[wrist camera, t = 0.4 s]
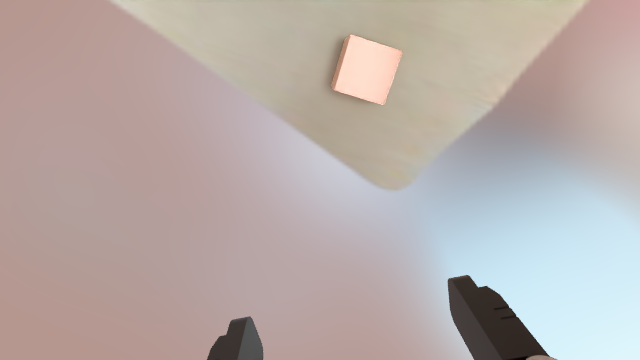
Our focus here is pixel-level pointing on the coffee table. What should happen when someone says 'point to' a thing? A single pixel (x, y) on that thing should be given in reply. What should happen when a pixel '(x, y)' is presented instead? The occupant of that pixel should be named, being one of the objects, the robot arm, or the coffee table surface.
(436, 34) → the coffee table surface
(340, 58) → the terracotta cube
